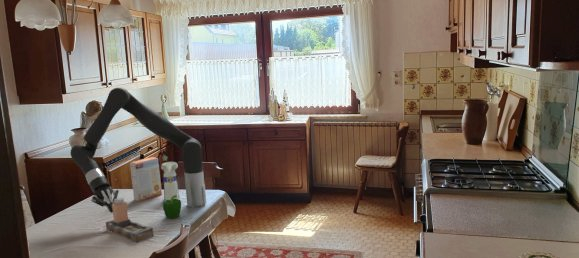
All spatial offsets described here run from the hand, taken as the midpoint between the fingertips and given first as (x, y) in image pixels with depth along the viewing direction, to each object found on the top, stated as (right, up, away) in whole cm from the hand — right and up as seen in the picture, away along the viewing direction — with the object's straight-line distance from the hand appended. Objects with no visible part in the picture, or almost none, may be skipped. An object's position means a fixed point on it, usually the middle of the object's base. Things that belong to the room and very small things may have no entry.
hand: (113, 211), depth 199 cm
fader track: (+9, -8, -6) cm, 14 cm away
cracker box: (+2, 0, +43) cm, 43 cm away
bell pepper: (+24, -5, +11) cm, 26 cm away
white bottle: (+16, -1, +38) cm, 41 cm away
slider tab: (+4, -5, -3) cm, 7 cm away
